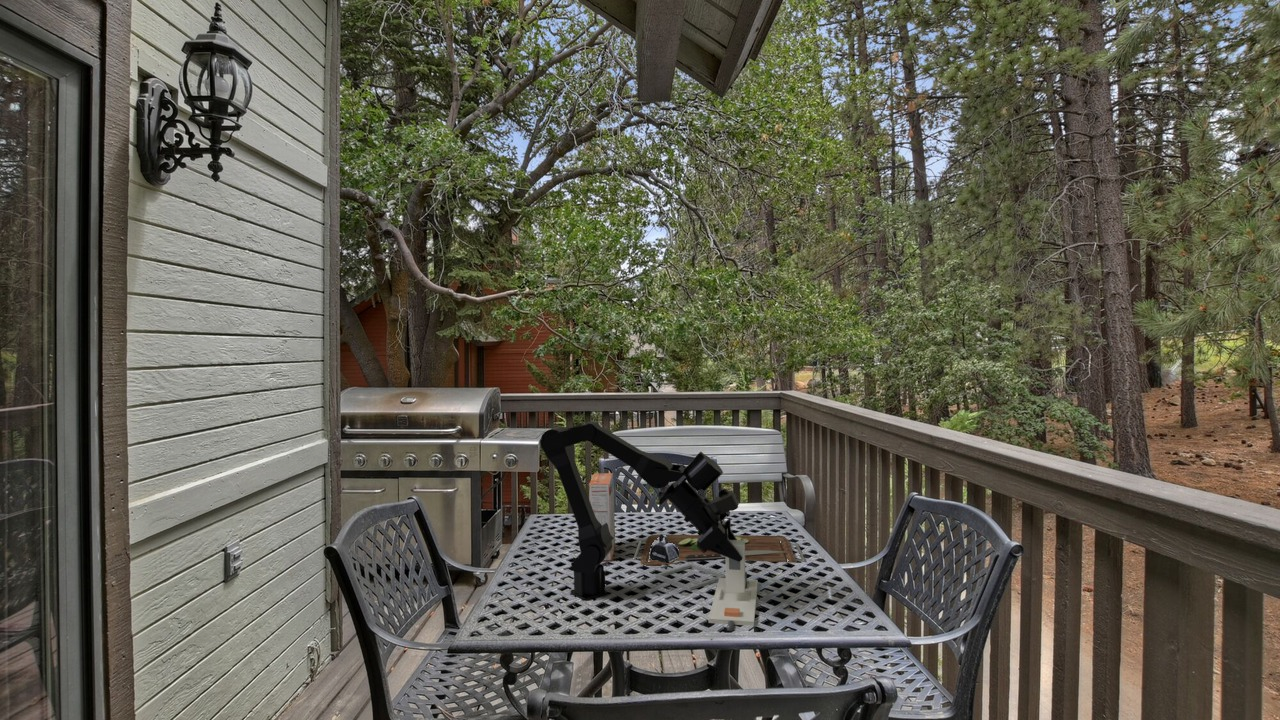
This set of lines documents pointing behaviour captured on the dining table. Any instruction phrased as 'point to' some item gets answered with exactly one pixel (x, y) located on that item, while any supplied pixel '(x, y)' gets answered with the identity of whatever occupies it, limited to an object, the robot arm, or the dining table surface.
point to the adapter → (736, 569)
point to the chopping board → (754, 551)
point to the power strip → (734, 605)
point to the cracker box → (603, 503)
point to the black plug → (745, 580)
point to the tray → (663, 574)
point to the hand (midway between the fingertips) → (741, 556)
